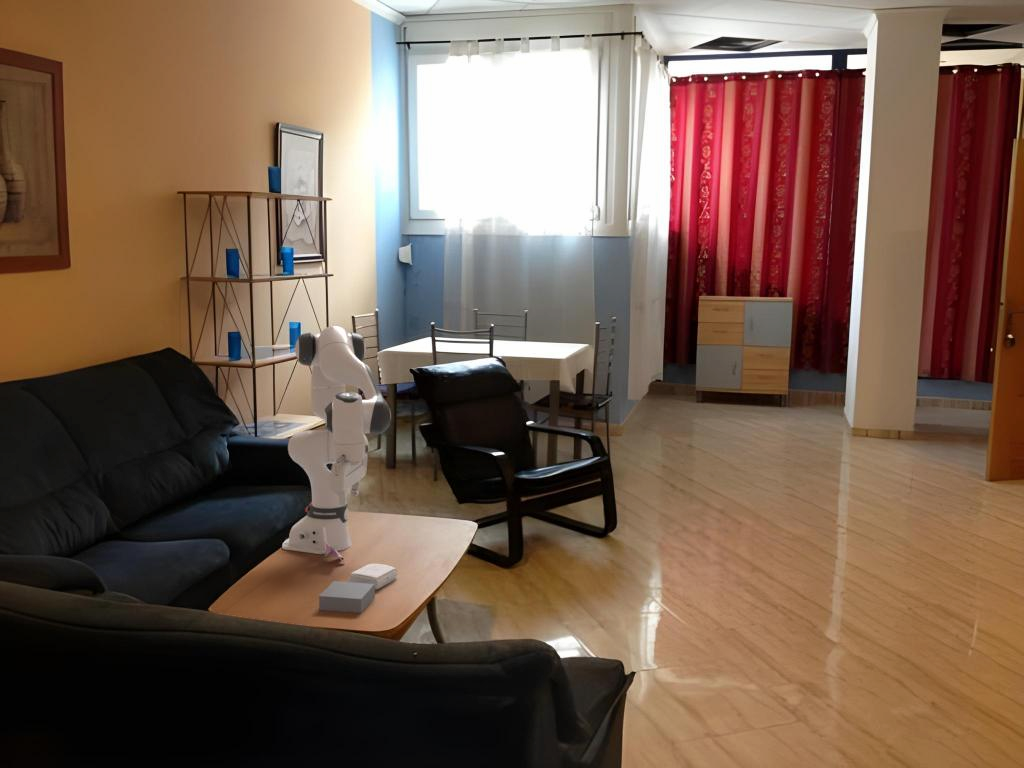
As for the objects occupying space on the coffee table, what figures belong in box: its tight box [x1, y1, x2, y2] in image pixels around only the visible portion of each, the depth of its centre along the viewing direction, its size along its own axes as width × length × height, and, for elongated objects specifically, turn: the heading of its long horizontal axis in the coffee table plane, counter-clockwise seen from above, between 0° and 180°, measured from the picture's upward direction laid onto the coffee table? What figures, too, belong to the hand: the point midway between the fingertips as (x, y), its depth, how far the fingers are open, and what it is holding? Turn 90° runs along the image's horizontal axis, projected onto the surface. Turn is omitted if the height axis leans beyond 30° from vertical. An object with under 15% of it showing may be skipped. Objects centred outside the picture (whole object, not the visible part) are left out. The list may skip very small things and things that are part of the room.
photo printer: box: [348, 563, 398, 590], centre depth 272 cm, size 10×4×12 cm
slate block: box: [318, 580, 376, 614], centre depth 255 cm, size 12×12×4 cm
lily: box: [320, 534, 346, 565], centre depth 287 cm, size 12×12×10 cm
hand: (349, 500), depth 254 cm, fingers open, 8 cm apart
